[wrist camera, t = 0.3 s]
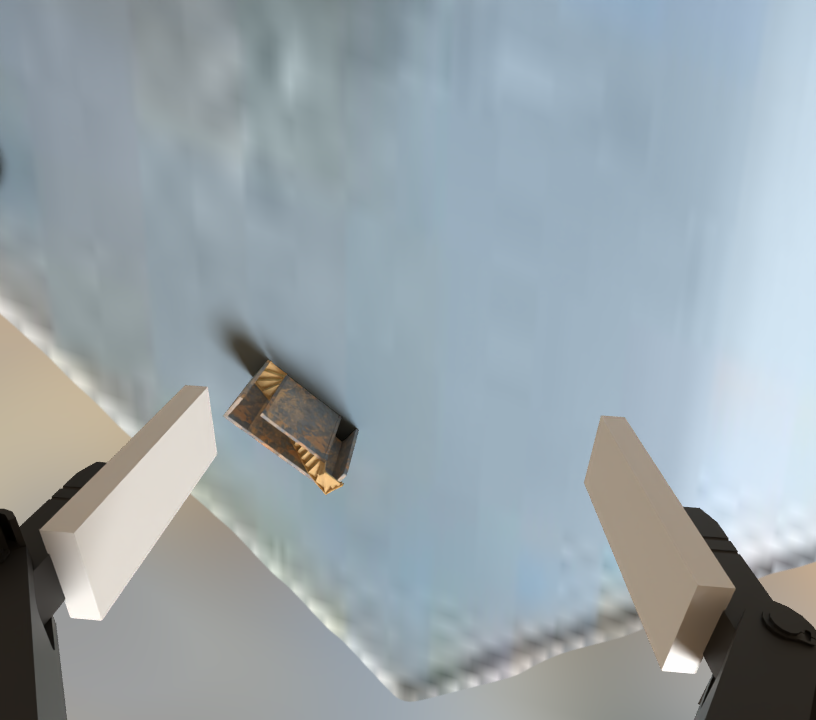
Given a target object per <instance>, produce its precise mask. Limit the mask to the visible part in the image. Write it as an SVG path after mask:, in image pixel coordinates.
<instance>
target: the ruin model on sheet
mask: <svg viewBox="0 0 816 720" xmlns="http://www.w3.org/2000/svg"><path fill="white" fill-rule="evenodd" d="M223 417H225V418H226V419H228V420H229V421H230V422H232V423H233V424H235V425H236V426H237V427H239V428H240V429H241V430H243V431H244V432H246V433H247V434H248V435H250V436H251V437H253V438H254V439H255V440H257V441H258V442H259V443H261V444H262V445H264V446H265V447H266V448H268V449H269V450H271V451H272V452H273V453H275V454H276V455H277V456H279V457H280V458H282V459H283V460H284V461H286V462H287V463H289V464H290V465H291V466H293V467H294V468H296V469H297V470H298V471H300V472H301V473H302V474H304V475H305V476H307V477H308V478H309V479H311V480H312V481H314V482H315V483H316V484H317V485H318V486H319V488H320V489H321V490H322V491H323V492H324V493H325V495H326V494H328V493H330V492H331V491H333V490H335V489H337V488H340V487H342V486H343V484H344V483H343V484H342V482H340V481H341V480H342V479H343V478H344V477H346V476H347V472H348V469H349V465H350V461H351V457H352V454H353V450H354V446H355V443H356V439H357V435H358V431H359V430H358V429H355V430H354V431H353V432H352V433H351V434H350V435H349V436H348V437H347V438H346V439H345V440H344V441H343V442H342V441H340V440H339V439H338V438H336V437H335V435H336V432H337V429H338V426H339V423H340V420H341V418H342V417H341V416H340V415H338V414H336V413H335V412H334V411H333V410H331V409H330V408H329V407H327V406H326V405H325V404H324V403H322V402H321V401H320V400H318V399H317V398H316V397H315V396H313V395H312V394H311V393H309V392H308V391H307V390H306V389H304V388H303V387H302V386H300V385H299V384H298V383H297V382H295V381H294V380H293V379H291V378H290V377H289V376H288V375H287V374H286V373H285V372H283V371H282V370H281V369H279V368H278V367H277V366H276V365H274V364H273V363H272V361H271V362H270V361H269V360H267V361H266V363H265V364H264V365H263V366H262V367H261V368H260V369H259V371H258V372H257V373H256V374H255V375H254V376H253V378H252V379H251V380H250V381H249V383H248V384H247V385H246V387H245V388H244V389H243V391H242V392H241V393H240V394H239V396H238V397H237V398H236V400H235V401H234V402H233V404H232V405H231V406H230V407H229V409H228V410H227V411H226V413H225V414H224V415H223Z"/></svg>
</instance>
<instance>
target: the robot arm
mask: <svg viewBox="0 0 816 720" xmlns="http://www.w3.org/2000/svg"><path fill="white" fill-rule="evenodd" d="M216 455H217V449H216V442H215V435H214V428H213V421H212V414H211V407H210V400H209V393H208V387H202V386H188V385H185V386H184V387H183V388H182V389H181V390H180V391H179V392H178V393H177V394H176V395H175V396H174V397H173V398H172V399H171V400H170V401H169V402H168V403H167V404H166V405H165V406H164V407H163V408H162V409H161V410H160V411H159V412H158V413H157V414H156V415H155V416H154V417H153V418H152V419H151V420H150V421H149V422H148V423H147V424H146V425H145V426H144V427H143V428H142V429H141V430H140V431H139V432H138V433H137V434H136V435H135V436H134V437H133V438H132V439H131V440H130V441H129V442H128V443H127V444H126V445H125V446H124V447H123V448H122V449H121V450H120V451H119V452H118V453H117V454H116V455H115V456H114V457H113V458H112V459H111V460H110V461H109V462H107V463H104V462H96V463H94V464H92V465H90V466H88V467H87V468H85V469H83V470H81V471H80V472H78V473H77V474H76V475H74V476H73V477H72V478H71V479H70V480H69V481H68V482H67V483H66V484H65V485H64V486H63V489H59V490H58V491H57V492H56V493H55V494H54V495H53V496H52V499H51V500H50V499H49V500H48V501H47V502H46V503H45V504H43V505H42V506H41V507H40V508H39V509H38V510H37V511H36V512H35V513H34V514H33V515H32V516H31V517H30V518H28V519H27V520H26V521H25V522H24V523H23V524H22V525H21V526H20V527H19V525H18V523H17V520H16V517H15V516H14V514H13V512H12V511H9V510H6V509H0V720H67V715H66V706H65V698H64V689H63V681H62V671H61V663H60V654H59V645H58V636H57V628H56V623H55V620H54V617H53V614H54V613H55V611H56V610H57V609H58V608H59V607H60V605H61V604H62V603H63V602H64V601H65V603H66V606H67V609H68V612H69V614H70V617H71V618H80V619H91V620H103V618H104V617H105V615H106V614H107V612H108V611H109V610H110V608H111V607H112V605H113V604H114V602H115V601H116V599H117V598H118V597H119V595H120V593H121V592H122V591H123V589H124V588H125V586H126V585H127V583H128V582H129V581H130V579H131V578H132V576H133V575H134V574H135V572H136V570H137V569H138V567H139V566H140V565H141V563H142V562H143V561H144V559H145V558H146V556H147V555H148V553H149V552H150V550H151V549H152V547H153V546H154V545H155V543H156V542H157V540H158V539H159V537H160V536H161V535H162V533H163V532H164V530H165V529H166V527H167V526H168V524H169V523H170V522H171V520H172V519H173V517H174V516H175V514H176V513H177V511H178V510H179V509H180V507H181V506H182V504H183V503H184V501H185V500H186V498H187V497H188V496H189V494H190V493H191V491H192V490H193V488H194V487H195V486H196V484H197V483H198V481H199V480H200V478H201V477H202V475H203V474H204V473H205V471H206V470H207V468H208V467H209V465H210V464H211V462H212V461H213V460H214V458H215V457H216ZM584 484H585V486H586V489H587V491H588V493H589V496H590V498H591V501H592V503H593V506H594V508H595V510H596V513H597V515H598V518H599V520H600V523H601V525H602V527H603V530H604V532H605V535H606V537H607V540H608V542H609V544H610V547H611V549H612V552H613V554H614V556H615V559H616V561H617V564H618V566H619V569H620V571H621V573H622V576H623V578H624V581H625V583H626V586H627V588H628V590H629V593H630V595H631V598H632V600H633V603H634V605H635V607H636V610H637V612H638V615H639V617H640V620H641V622H642V624H643V627H644V629H645V631H646V634H647V637H648V639H649V641H650V644H651V646H652V649H653V651H654V654H655V656H656V658H657V661H658V663H659V666H660V668H661V670H662V671H672V672H684V673H696V671H697V669H698V667H699V665H700V663H701V661H702V659H703V657H704V658H705V660H706V662H707V663H708V666H709V667H710V669H711V672H712V673H713V675H712V677H711V679H710V681H709V683H708V685H707V687H706V689H705V691H704V693H703V695H702V697H701V699H700V701H699V703H698V704H699V705H700V706H699V709H698V711H697V714H696V716H695V719H694V720H816V630H815V629H814V627H813V626H812V625H811V624H810V623H809V622H808V621H807V620H806V619H804V618H803V616H801V615H800V614H798V613H796V612H795V611H793V610H792V609H790V608H789V607H787V606H785V605H782V604H780V603H777V602H775V601H773V600H772V599H771V597H770V596H769V595H768V593H767V592H766V591H765V589H764V587H763V586H762V585H761V583H760V582H759V580H758V579H757V578H756V576H755V575H754V573H753V572H752V571H751V569H750V568H749V566H748V565H747V564H746V562H745V561H744V559H743V558H742V557H741V555H740V554H738V553H737V552H738V551H737V550H736V548H735V547H734V545H733V544H732V543H731V541H728V537H727V536H726V534H725V533H724V531H723V530H722V528H721V527H720V526H719V524H718V523H717V522H716V521H715V520H714V519H712V518H711V517H710V516H709V515H708V514H706V513H705V512H704V511H703V510H701V509H700V508H692V507H683V506H682V505H681V503H680V502H679V500H678V499H677V497H676V496H675V494H674V493H673V491H672V489H671V488H670V486H669V485H668V483H667V482H666V480H665V479H664V477H663V476H662V474H661V472H660V471H659V469H658V468H657V466H656V465H655V463H654V462H653V460H652V459H651V457H650V456H649V454H648V452H647V451H646V449H645V448H644V446H643V445H642V443H641V442H640V440H639V439H638V437H637V436H636V434H635V432H634V431H633V429H632V428H631V426H630V425H629V423H628V422H627V420H626V419H625V417H613V416H601V418H600V422H599V426H598V430H597V434H596V438H595V442H594V445H593V449H592V453H591V457H590V461H589V465H588V469H587V473H586V477H585V481H584Z"/></svg>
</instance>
